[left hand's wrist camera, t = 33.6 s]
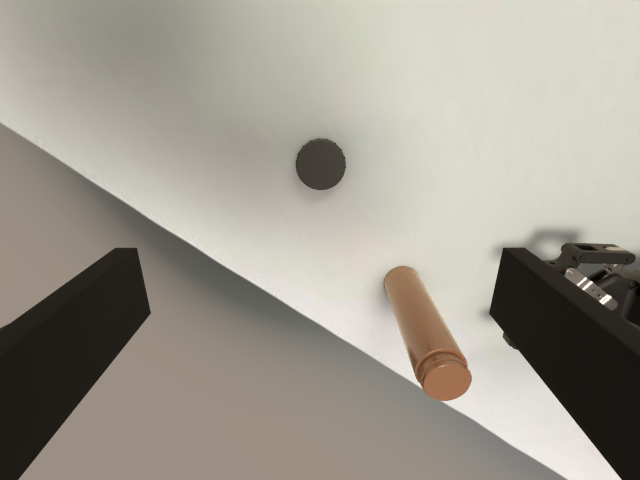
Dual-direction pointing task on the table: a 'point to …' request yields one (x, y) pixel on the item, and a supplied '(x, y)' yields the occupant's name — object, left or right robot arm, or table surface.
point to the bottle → (426, 337)
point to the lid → (320, 164)
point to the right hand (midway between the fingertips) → (513, 307)
